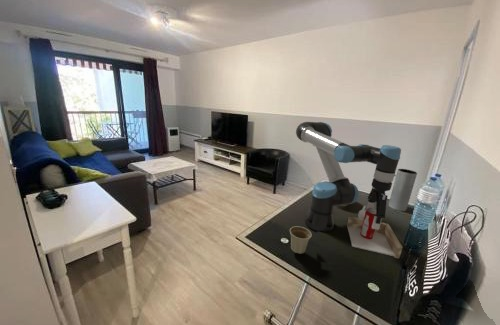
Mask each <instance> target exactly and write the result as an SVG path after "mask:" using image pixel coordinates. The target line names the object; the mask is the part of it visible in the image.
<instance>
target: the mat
mask: <svg viewBox="0 0 500 325" xmlns="http://www.w3.org/2000/svg"><path fill="white" fill-rule="evenodd" d="M346 227H347V232H348V235H349V239H350V243H351V247H352V248H356V249H362V250H365V251H369V252H374V253H378V254H382V255H386V256H391V257H394V256H395V255H394V253H393V251H392V249H391V247H390V246H389V244H388V242H387V240H386V238H385V236H384V234H382V233H377V232H374V236H373V238H372V239H370V240H368V239H365V238H363V237H362V236H361V235H360V232H361V229H358V228H353V227H348V226H347V225H346Z"/></svg>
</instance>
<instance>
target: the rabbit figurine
mask: <svg viewBox="0 0 500 325" xmlns="http://www.w3.org/2000/svg"><path fill="white" fill-rule="evenodd" d="M366 209H367V206H366V205H363V206H362V209H360V210H359V211H358V213H357V215H358V217H357V218H361V219H364V216H365V212H366Z"/></svg>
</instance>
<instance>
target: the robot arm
mask: <svg viewBox="0 0 500 325" xmlns="http://www.w3.org/2000/svg"><path fill="white" fill-rule="evenodd" d="M332 133H333V130H332V127H331V125H330V124H329V123H327V122H323V121H318V122H316V121H315V122H314V121H303V122H301V123H300V124H299V125H298V126H297V127H296V131H295V135H296V137H297V138H298V139H299V140H300V141H302V142H303V143H309V144H310V145H312V146H313V147H315V148H316V151H317V153H318V156H319V158H320V160H321V163H322V165H323V168H324V171H325V173H326V177H327V179H328V181H326V182H325V181H320V182H317V183H315V184H314V186H313V188H312V192H311V201H310V206H309V210H308V212H307V213H306V215H305V217H304V224H305V225H306V226H307V227H309V228H310V229H312V230H313V231H320V232H329V231H331V230H333V229H334V218H333V212H334V207H343V206H342V205H347V206H349V205H352V204H354V203H356V202H357V200H358V198H359V195H360V194H359V188H358V187H357V185H356V184H354V183H352V182H350V180H349V178H348V177H346V176H345V175H344V173H343V170H342V168H341V165H340V163H342V164H348V163H362V162H364V163H365V162H366V163H371V164H374V165H376V167H375V169H374V173H373V179H372V182H371V190H370V192H369V194H368V196H367V199H368V201H367V204H366V205H367V206H366V208H365V210H367V209H368V208H373V209H376V215H374V216H375V217H374V221H373V224H372V229H377V230H379V227H380V224H381V222H382V220H383V219H385V218H386V213H387V212H386V210H387V200H388V195H387V194H386V192H388V191H390V190H392V186H393V181H394V180H395V177H396V173H397V171H396V170H397V168H398V165H399V161H400V159H401V154H402V148H400V147H399V146H395V145H389V144H388V145H387V144H386V145H382V146H381V147H380V148H379V147H375V146H371V145H369V144H361V143H360V144H358V145H351V144H350V145H349V144H347V143H346V142H345V143H344V141H343V142H342V141H340V140H338V139H335V138H334V137H332V136H333V134H332ZM375 204H376V205H375ZM375 206H376V208H374V207H375Z"/></svg>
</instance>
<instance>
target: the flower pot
mask: <svg viewBox="0 0 500 325" xmlns="http://www.w3.org/2000/svg"><path fill="white" fill-rule="evenodd" d="M289 234H290V248H291V251H293V252H294V253H296V254H299V255H300V254H304V253H306V250H307V246H308V244H309V241H310V239H311V238H312V236H313V235H312V232H311V231H310V230H309V229H308V228H306V227H303V226H297V225H296V226H292V227H291V228H289Z"/></svg>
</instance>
